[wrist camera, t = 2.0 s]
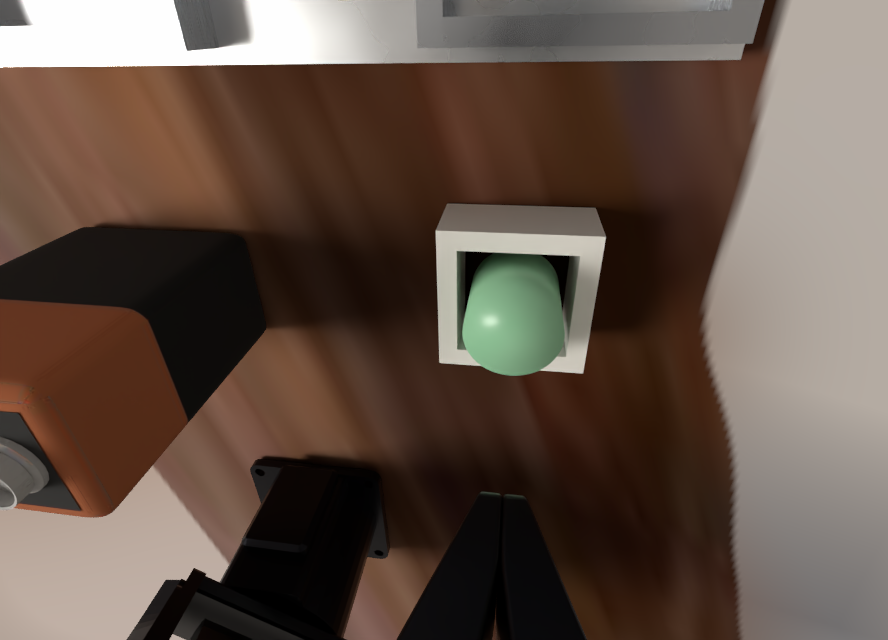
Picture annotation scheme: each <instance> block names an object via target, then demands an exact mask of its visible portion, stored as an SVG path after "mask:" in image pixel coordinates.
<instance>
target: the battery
mask: <svg viewBox="0 0 888 640" xmlns="http://www.w3.org/2000/svg"><path fill="white" fill-rule="evenodd" d="M265 330H266V322H265V318H264V314H263V310H262V306H261V302H260V298H259V294H258V290H257V286H256V282H255V278H254V274H253V270H252V266H251V262H250V258H249V254H248V250H247V246H246V243H245V240H244V239H243V238H242V237H241V236H239V235H236V234H231V233H217V232H194V231H170V230H146V229H122V228H98V227H84V228H80V229H78V230H76V231H73V232H71V233H69V234H67V235H65V236H63V237H60V238H58V239H56V240H54V241H52V242H50V243H48V244H45V245H43V246H41V247H39V248H37V249H35V250H33V251H31V252H28V253H26V254H24V255H22V256H20V257H18V258H16V259H13V260H11V261H9V262H7V263H5V264H3V265H1V266H0V510H9V509H13V508H18V509H26V510H34V511H42V512H49V513H57V514H65V515H73V516H81V517H103V516H106V515H108V514H110V513H111V512H113V511H114V510H115V509H116V508H117V507H118V506H119V504H120V503H121V502H122V501H123V500H124V499H125V497H126V496H127V495H128V494H129V492H130V491H131V490H132V489H133V487H135V485H136V484H137V483H138V482H139V481H140V480H141V478H142V477H143V476H144V475H145V473H146V472H147V471H148V470H149V469H150V468H151V466H152V465H153V464H154V463H155V462H156V460H157V459H158V458H159V457H160V456H161V455H162V453H163V452H164V451H165V450H166V449H167V447H168V446H169V445H170V444H171V443H172V441H173V440H174V439H175V438H176V437H177V435H178V434H179V433H180V432H181V431H182V430H183V428H184V427H185V426H186V425H187V424H188V422H189V421H190V420H191V419H192V418H193V416H194V415H195V414H196V413H197V412H198V410H199V409H200V408H201V407H202V406H203V404H204V403H205V402H206V401H207V400H208V399H209V397H210V396H211V395H212V394H213V393H214V391H215V390H216V389H217V388H218V387H219V385H220V384H221V383H222V382H223V381H224V379H225V378H226V377H227V376H228V375H229V374H230V372H231V371H232V370H233V369H234V368H235V366H236V365H237V364H238V363H239V362H240V360H241V359H242V358H243V357H244V356H245V354H246V353H247V352H248V351H249V350H250V349H251V347H252V346H253V345H254V344H255V343H256V341H257V340H258V339H259V338H260V337H261V335H262V334H263V333H264V331H265Z"/></svg>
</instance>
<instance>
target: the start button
mask: <svg viewBox="0 0 888 640" xmlns="http://www.w3.org/2000/svg"><path fill="white" fill-rule="evenodd" d="M462 335H463V341H464V344H465V347H466V349H467V351H468V353H469V354H470V355H471V357H472V358H473V359H474V360H475V361H476V362H477V363H479V364H480V365H481V366H483V367H484V368H486V369H488V370H490V371H493V372H495V373H499V374H503V375H512V376H518V375H526V374H530V373H534V372H536V371H539V370H541V369H543V368H544V367H546V366H547V365H549V364H550V363H551V362H552V361H553V360H554V359H555V358H556V357H557V356H558V354H559V353H560V351H561V349H562V346H563V343H564V337H565V331H564V322H563V314H562V306H561V297H560V289H559V280H558V276H557V274H556V271H555V269H554V268H553V266H552V265H551V264H550V262H549V261H548V260H546V259H545V258H544V257H543V256H541V255H540V254H517V253H493V254H491V255H490V256H488V257H487V258H486V259H484V260H483V261H482V262H481V264H480V265H479V266H478V268H477V269H476V271H475V274H474V276H473V280H472V285H471V290H470V294H469V299H468V304H467V309H466V314H465V318H464V323H463V330H462Z"/></svg>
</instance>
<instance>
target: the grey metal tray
mask: <svg viewBox="0 0 888 640" xmlns="http://www.w3.org/2000/svg"><path fill="white" fill-rule="evenodd" d="M764 1H765V0H0V67H46V66H150V65H254V64H358V63H462V62H566V61H669V60H741V57H742V53H743V49H744V46H745V44H753V40H754V37H755V33H756V29H757V26H758V22H759V19H760V15H761V11H762V8H763V4H764Z"/></svg>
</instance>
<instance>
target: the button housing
mask: <svg viewBox="0 0 888 640" xmlns="http://www.w3.org/2000/svg"><path fill="white" fill-rule="evenodd" d="M605 240H606V235H605V232H604V230H603V227H602V224H601V221H600V219H599V216H598V213H597V210H596V208H585V207H551V206H517V205H483V204H449V203H447V205H446V208H445V210H444V212H443V215H442V217H441V219H440V222H439V224H438V226H437V229H436V260H437V295H438V330H439V363H448V364H462V365H475V366H481V365H480V364H479V363H477V362H476V361H475V360H474V359H473V358H472V357H471V355H470V354H469V353H468V351H467V349H466V347H465V344H464V341H463V335H462V330H463V323H464V318H465V314H466V312H465V251H470V252H494V253H517V254H541V255H565V256H570V257H569V265H568V273H567V281H566V288H565V296H564V304H563V311H562V314H563V322H564V331H565V337H564V343H563V346H562V349H561V351H560V353H559V354H558V356H557V357H556V358H555V359H554V360H553V361H552V362H551V363H550V364H549V365H547V366H546V367H544V368H543V369H541V370H543V371H557V372H570V373H583V371H584V365H585V359H586V353H587V347H588V341H589V335H590V329H591V323H592V317H593V311H594V305H595V300H596V294H597V288H598V282H599V276H600V270H601V264H602V258H603V252H604V246H605Z"/></svg>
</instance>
